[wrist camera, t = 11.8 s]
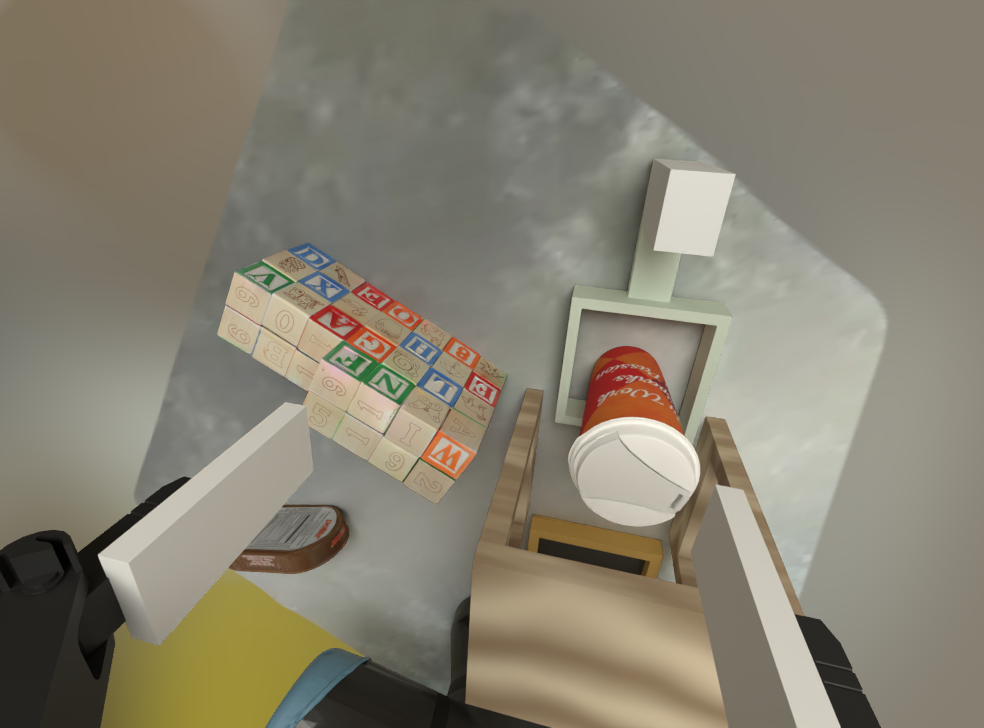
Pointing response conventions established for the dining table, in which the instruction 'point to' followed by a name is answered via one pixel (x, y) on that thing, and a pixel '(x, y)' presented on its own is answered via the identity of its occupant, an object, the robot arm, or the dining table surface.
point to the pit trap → (595, 546)
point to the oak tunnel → (596, 611)
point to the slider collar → (665, 277)
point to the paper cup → (632, 444)
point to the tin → (295, 540)
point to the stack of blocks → (365, 366)
